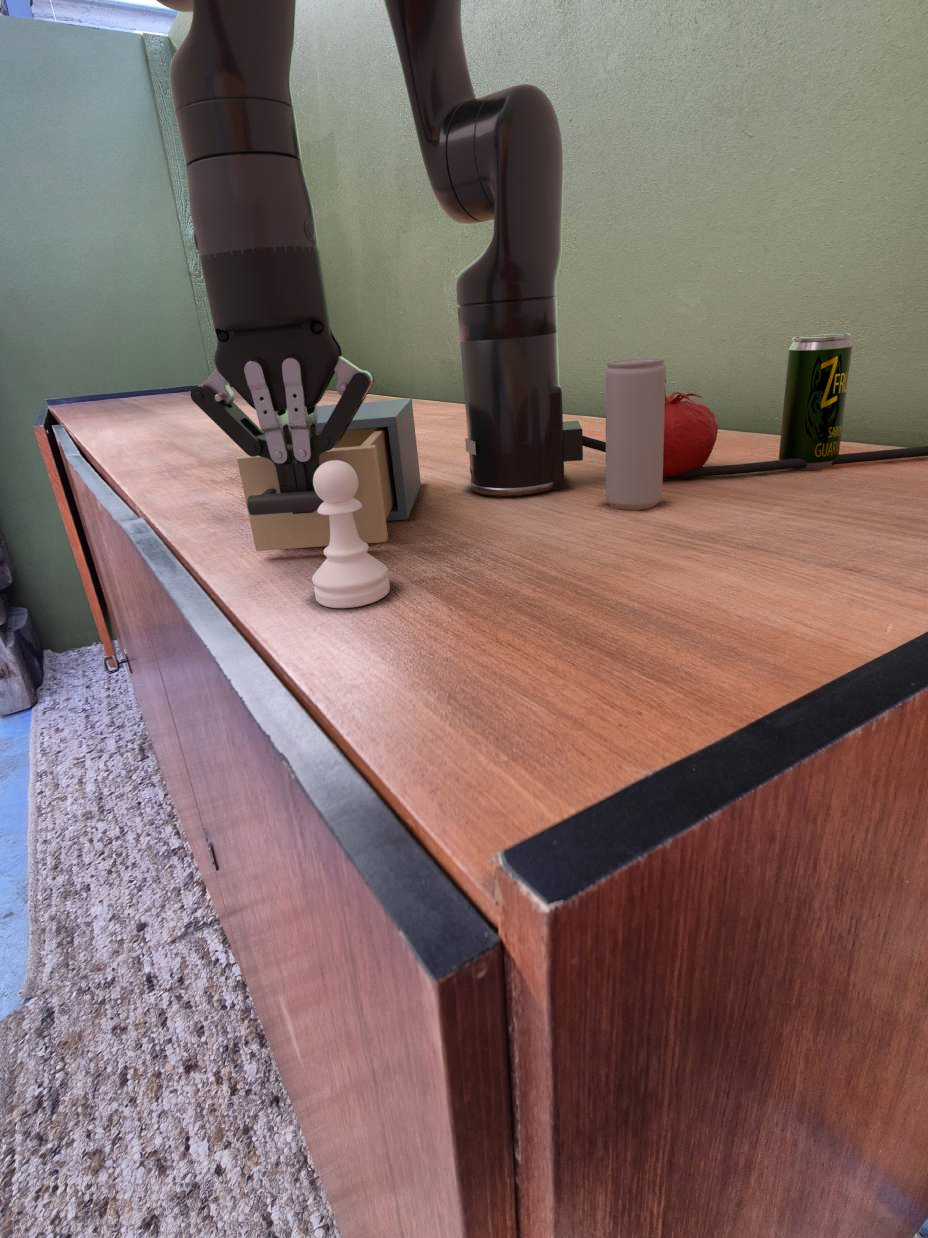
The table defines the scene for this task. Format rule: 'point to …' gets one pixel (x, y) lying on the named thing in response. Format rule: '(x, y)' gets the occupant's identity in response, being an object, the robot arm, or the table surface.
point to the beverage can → (635, 432)
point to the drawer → (305, 530)
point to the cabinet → (401, 445)
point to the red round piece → (686, 434)
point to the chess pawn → (345, 544)
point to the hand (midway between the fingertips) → (305, 510)
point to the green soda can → (815, 399)
